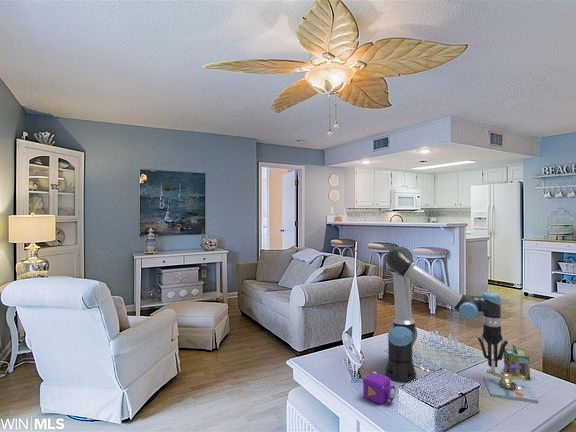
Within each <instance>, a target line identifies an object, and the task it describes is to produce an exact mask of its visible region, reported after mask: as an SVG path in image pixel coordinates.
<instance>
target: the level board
mask: <svg viewBox="0 0 576 432" xmlns="http://www.w3.org/2000/svg"><path fill="white" fill-rule="evenodd" d="M482 379H483V382H484V384H485V386H486V388H487V390H488V393H489V395H490V397H494V398H499V399H509V400H515V401H521V402H528V403H534V404H539V403H540V402H539V398H537V396H536V395H535V394H534V392H533V391H532V389H531V388H530V387H529V385H528V383H527V382H526V381H521V380H512V382H514V383H515V384H516V385H517V386H520V387H522V388H523V390H524V392H523V393H522V394H519V393H517V392H516V389H506V388H503V387H502V386H500V385H499V380H501V378H499V377H489V376H482Z"/></svg>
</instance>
